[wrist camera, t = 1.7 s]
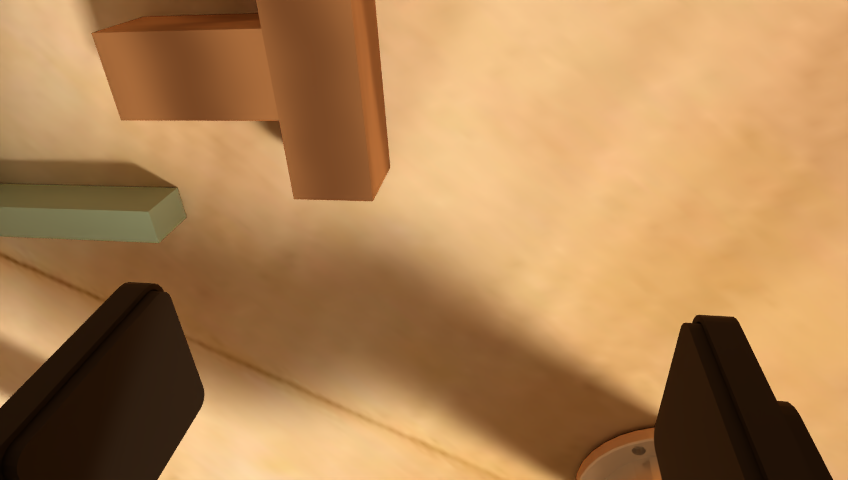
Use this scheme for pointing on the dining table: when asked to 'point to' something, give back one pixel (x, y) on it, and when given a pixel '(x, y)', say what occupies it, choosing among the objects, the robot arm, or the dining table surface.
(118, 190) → the frame
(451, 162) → the dining table surface
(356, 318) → the dining table surface
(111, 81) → the t block
